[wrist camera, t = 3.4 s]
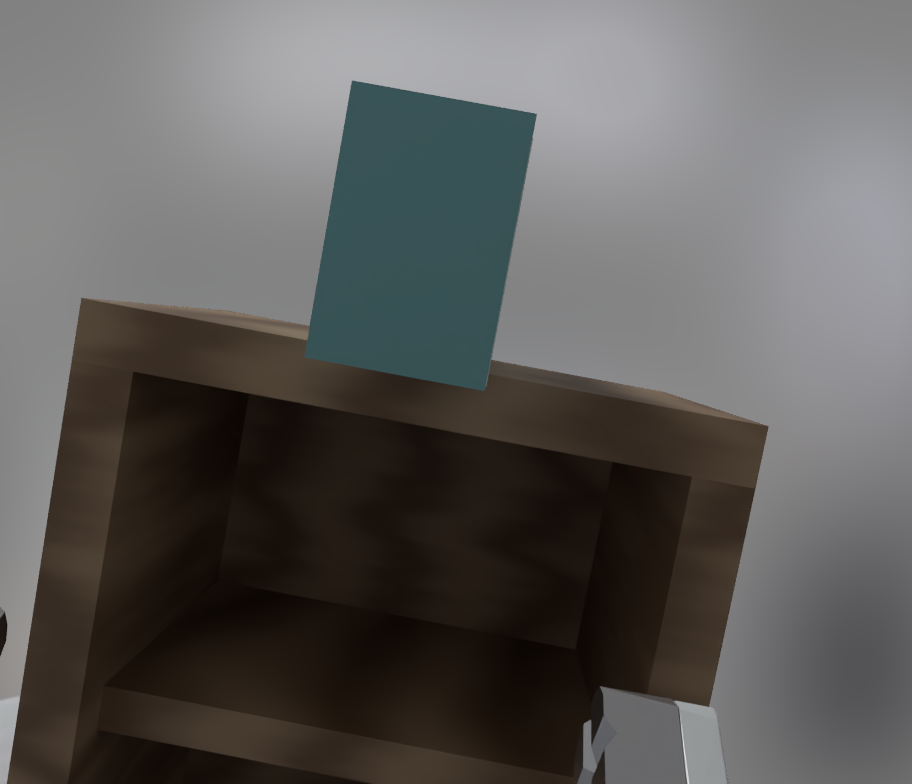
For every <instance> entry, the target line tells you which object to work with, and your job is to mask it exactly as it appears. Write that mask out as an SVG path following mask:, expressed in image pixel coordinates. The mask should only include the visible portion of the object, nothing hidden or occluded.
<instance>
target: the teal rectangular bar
mask: <svg viewBox="0 0 912 784" xmlns="http://www.w3.org/2000/svg"><path fill="white" fill-rule="evenodd" d="M536 115H537V114H534V113H529V112H523V111H518V110H512V109H506V108H501V107H495V106H490V105H484V104H479V103H473V102H468V101H462V100H456V99H451V98H446V97H440V96H435V95H428V94H424V93H418V92H412V91H407V90H400V89H395V88H390V87H384V86H379V85H373V84H368V83H363V82H357V81H352V84H351V90H350V95H349V102H348V107H347V113H346V119H345V124H344V130H343V136H342V142H341V147H340V154H339V159H338V165H337V171H336V177H335V182H334V189H333V194H332V200H331V205H330V211H329V217H328V223H327V229H326V234H325V240H324V246H323V252H322V258H321V263H320V269H319V275H318V281H317V287H316V292H315V299H314V304H313V310H312V315H311V322H310V327H309V333H308V339H307V344H306V350H305V356H304V357H305V358H310V359H316V360H321V361H326V362H332V363H337V364H342V365H348V366H353V367H359V368H364V369H369V370H375V371H380V372H385V373H391V374H396V375H401V376H407V377H412V378H417V379H423V380H428V381H433V382H439V383H444V384H449V385H455V386H460V387H465V388H471V389H476V390H481V391H485V387H486V386H487V380H488V375H489V370H490V364H491V359H492V354H493V348H494V343H495V337H496V332H497V327H498V322H499V317H500V311H501V306H502V301H503V295H504V290H505V285H506V279H507V274H508V269H509V263H510V258H511V252H512V247H513V242H514V236H515V232H516V226H517V221H518V216H519V210H520V205H521V200H522V194H523V189H524V184H525V178H526V173H527V168H528V162H529V157H530V152H531V146H532V141H533V138H532V136H533V131H534V126H535V121H536Z"/></svg>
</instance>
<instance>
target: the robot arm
mask: <svg viewBox="0 0 912 784" xmlns="http://www.w3.org/2000/svg"><path fill="white" fill-rule="evenodd" d="M6 635H7V621H6V615H5V612H4V611H3V610H2V609H1V608H0V655H1V653H2V650H3V647H4V645H5V642H6ZM573 784H728V778H727V773H726V765H725V759H724V753H723V746H722V740H721V733H720V727H719V720H718V715H717V714H716V712H715V710H714V709H713V708H711V707H707V706H701V705H696V704H691V703H685V702H680V701H673V700H672V699H669V698H664V697H658V696H652V695H647V694H641V693H635V692H630V691H624V690H618V689H613V688H607V687H602V686H600V687H599V688H598V689H597V690H596V692H595V694H594V697H593V700H592V702H591V720H590V721H588V722H586V723H584V724H583V727H582V730H581V733H580V736H579V739H578V744H577V749H576V755H575V760H574V773H573Z"/></svg>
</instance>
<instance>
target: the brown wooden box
mask: <svg viewBox="0 0 912 784" xmlns="http://www.w3.org/2000/svg"><path fill="white" fill-rule="evenodd" d="M309 327H310V326H307V325H301V324H296V323H290V322H285V321H280V320H274V319H269V318H264V317H259V316H253V315H248V314H242V313H237V312H232V311H223V310H212V309H200V308H189V307H178V306H167V305H155V304H144V303H132V302H121V301H109V300H99V299H87V298H81V305H80V311H79V318H78V325H77V331H76V337H75V344H74V350H73V357H72V363H71V370H70V376H69V383H68V389H67V396H66V402H65V410H64V416H63V422H62V429H61V435H60V442H59V448H58V455H57V461H56V467H55V475H54V480H53V487H52V494H51V500H50V507H49V513H48V520H47V527H46V533H45V539H44V546H43V553H42V559H41V565H40V572H39V579H38V585H37V592H36V598H35V604H34V611H33V617H32V624H31V631H30V637H29V644H28V651H27V657H26V663H25V670H24V676H23V683H22V690H21V696H20V702H19V709H18V715H17V722H16V728H15V735H14V741H13V748H12V754H11V761H10V767H9V774H8V780H7V784H573V773H574V760H575V755H576V749H577V744H578V739H579V736H580V733H581V730H582V727H583V724H584V723H586V722H588V721H590V720H591V702H592V700H593V697H594V694H595V692H596V690H597V689H598V688H599V687H600V686H602V687H607V688H613V689H618V690H624V691H630V692H635V693H641V694H647V695H652V696H658V697H664V698H669V699H672V700H673V701H680V702H685V703H691V704H696V705H701V706H707V707H709V704H710V699H711V695H712V690H713V685H714V681H715V676H716V671H717V666H718V661H719V657H720V652H721V648H722V642H723V638H724V633H725V629H726V624H727V619H728V614H729V610H730V605H731V601H732V595H733V591H734V586H735V582H736V577H737V572H738V568H739V563H740V558H741V553H742V549H743V544H744V539H745V535H746V530H747V525H748V521H749V516H750V511H751V506H752V501H753V497H754V492H755V488H756V483H757V478H758V473H759V468H760V463H761V459H762V455H763V450H764V445H765V440H766V436H767V431H768V426H766V425H763V424H760V423H757V422H754V421H751V420H748V419H745V418H742V417H739V416H735V415H732V414H729V413H726V412H723V411H720V410H717V409H714V408H711V407H708V406H705V405H702V404H699V403H696V402H693V401H690V400H687V399H683V398H680V397H677V396H674V395H671V394H668V393H665V392H661V391H655V390H650V389H645V388H639V387H634V386H629V385H623V384H618V383H613V382H607V381H602V380H596V379H591V378H585V377H580V376H575V375H569V374H564V373H559V372H554V371H548V370H543V369H537V368H532V367H527V366H521V365H516V364H511V363H504V362H500V361H495V360H491V364H490V370H489V375H488V380H487V386H486V387H485V391H481V390H476V389H471V388H465V387H460V386H455V385H449V384H444V383H439V382H433V381H428V380H423V379H417V378H412V377H407V376H401V375H396V374H391V373H385V372H380V371H375V370H369V369H364V368H359V367H353V366H348V365H342V364H337V363H332V362H326V361H321V360H316V359H310V358H305V357H304V356H305V350H306V344H307V339H308V333H309Z"/></svg>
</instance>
